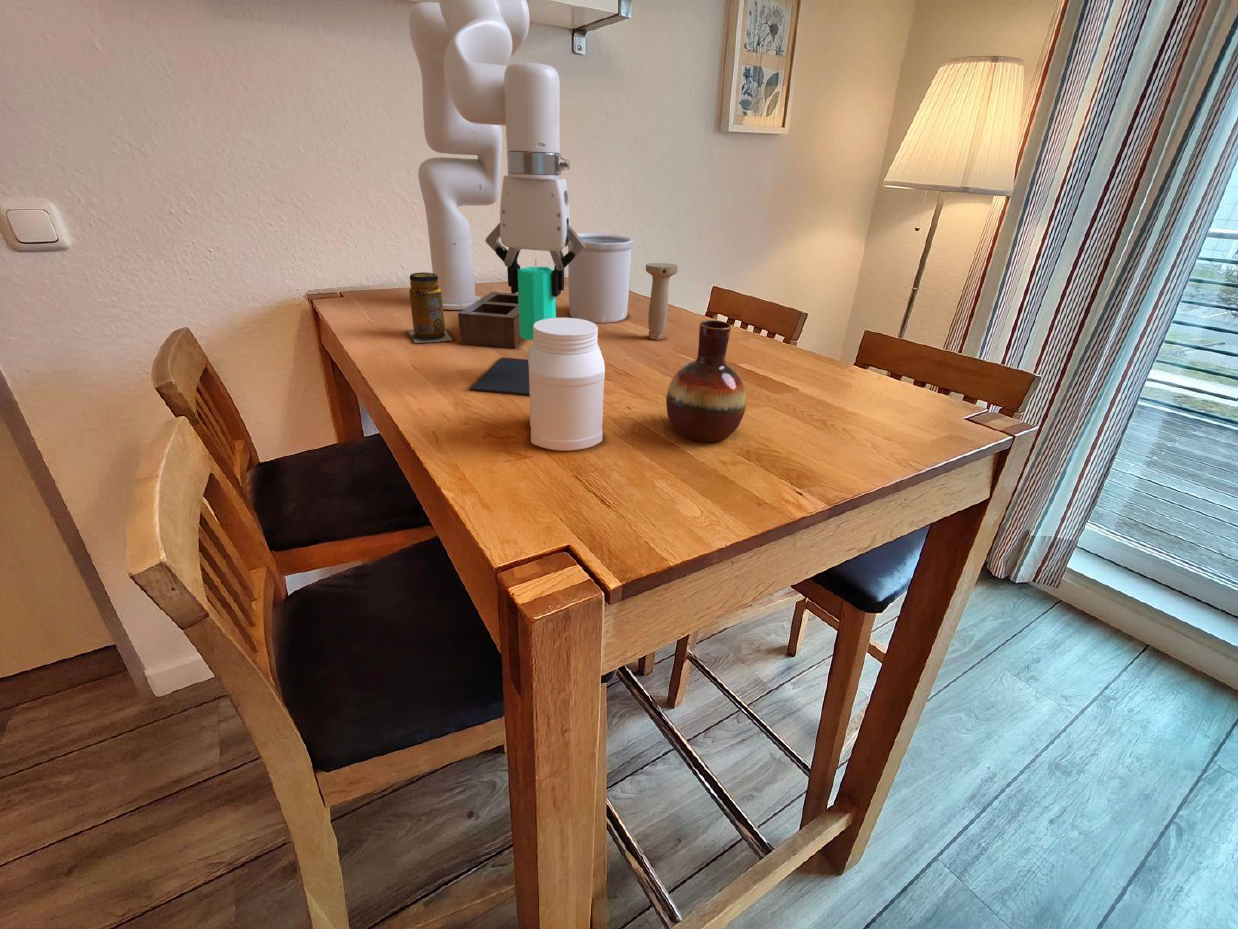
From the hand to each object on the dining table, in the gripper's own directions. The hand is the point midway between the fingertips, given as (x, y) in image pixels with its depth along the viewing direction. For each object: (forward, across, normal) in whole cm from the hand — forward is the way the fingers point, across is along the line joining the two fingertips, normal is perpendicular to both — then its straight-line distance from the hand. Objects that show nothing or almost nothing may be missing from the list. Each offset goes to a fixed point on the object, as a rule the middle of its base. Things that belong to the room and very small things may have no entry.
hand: (536, 292), depth 93 cm
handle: (+15, -18, -30) cm, 38 cm away
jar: (+15, -9, +20) cm, 26 cm away
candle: (+7, 0, 0) cm, 7 cm away
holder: (+14, +14, -25) cm, 32 cm away
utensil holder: (+15, -3, -45) cm, 47 cm away
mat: (+14, 0, 0) cm, 14 cm away
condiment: (+15, +27, -18) cm, 36 cm away
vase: (+15, -28, +15) cm, 35 cm away
